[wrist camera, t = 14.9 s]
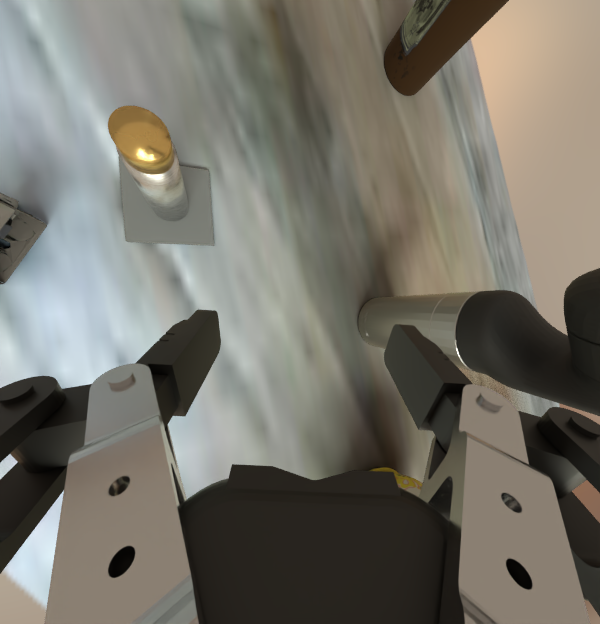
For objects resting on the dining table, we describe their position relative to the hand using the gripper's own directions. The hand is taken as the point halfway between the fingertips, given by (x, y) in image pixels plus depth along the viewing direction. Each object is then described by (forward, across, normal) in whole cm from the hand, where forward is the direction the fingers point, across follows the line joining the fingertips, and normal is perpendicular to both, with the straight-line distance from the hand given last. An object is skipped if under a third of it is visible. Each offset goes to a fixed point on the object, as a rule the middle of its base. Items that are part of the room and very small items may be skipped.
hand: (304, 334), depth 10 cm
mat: (+23, +18, -3) cm, 29 cm away
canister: (+23, +17, -4) cm, 29 cm away
